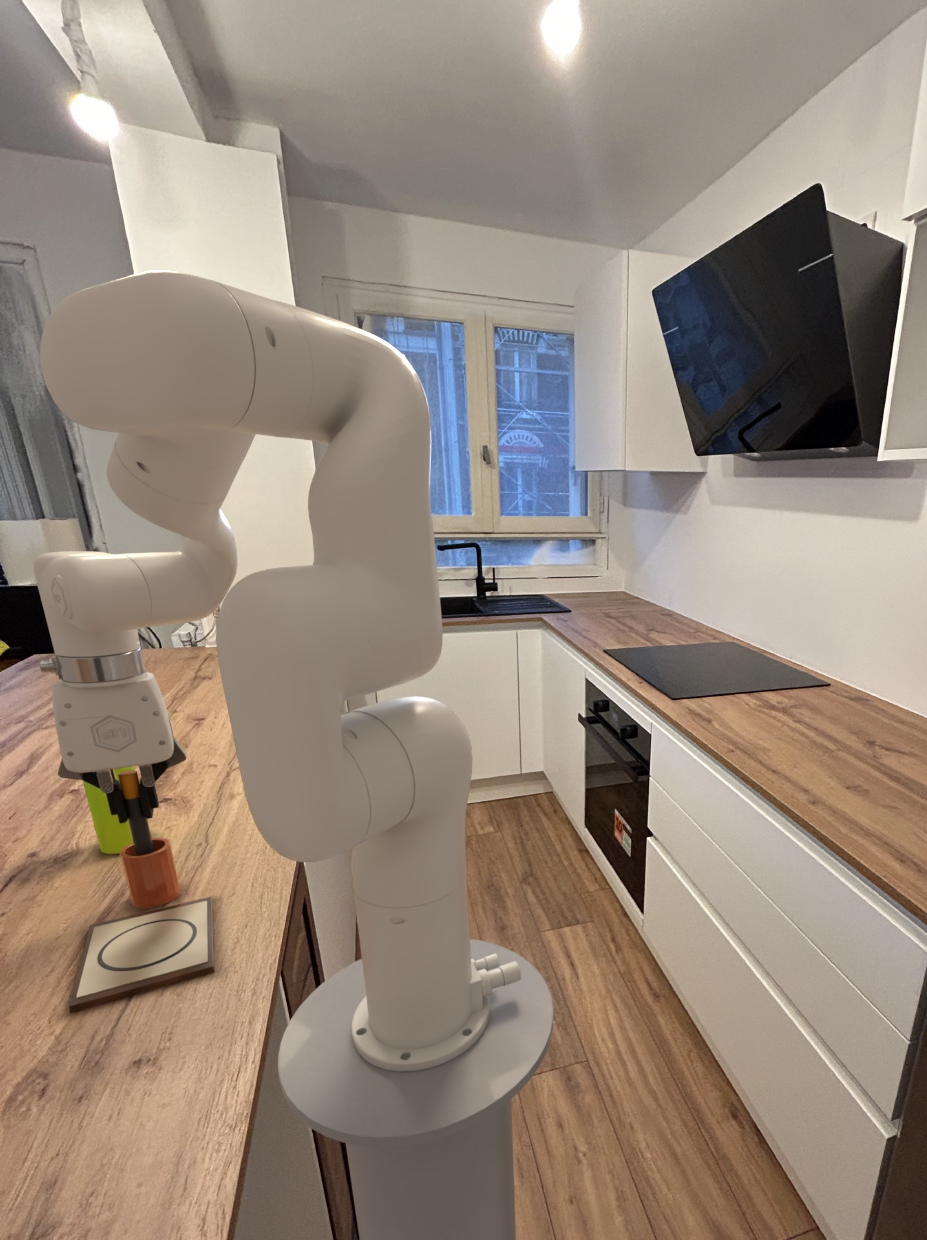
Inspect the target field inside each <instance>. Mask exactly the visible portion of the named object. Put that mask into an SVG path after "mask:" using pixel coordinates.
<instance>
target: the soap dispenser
mask: <svg viewBox="0 0 927 1240" xmlns="http://www.w3.org/2000/svg"><path fill="white" fill-rule="evenodd" d="M130 770H135V771H136V768H135V766H132V767H125V768H118V769H114V772H115V776H116V780H118V781H119V777H118V774H119V773H121V772H124V771H130ZM119 783H120V781H119ZM82 784H83V788H84V791H85V795H86V800H87V803H88V806H89V807H88V808H89V811H90V814H91V819H92V823H93V826H94V830H95V833H96V837H97V841H98V846H99V849H100V852H102V853H103V854H108V855H115V854H116V855H117V854H119V855H120V851H121V850H122V849H123V848H124V847H126V846H128V845H130V844H132V843H133V838H132V834H131V829H130V825H129V821H128V820H127V821H126V822H125V823H119V819H118V815H111V812H110V808H109V804H108V800H107V796H106V793H103V792H102V791H101V789H99V788H97V787H95V786H93V785H91V784H89V783H87V782H85V781H83V780H82Z"/></svg>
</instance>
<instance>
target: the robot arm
mask: <svg viewBox="0 0 927 1240" xmlns="http://www.w3.org/2000/svg"><path fill="white" fill-rule="evenodd" d="M39 363H40V368H41V374H42V377H43V380H44V384H45V387H46V389H47V390H48V392H49V394H50V396H51V398H52V401H53V402H54V404H56V406H57V407H58V408H59V409H60V411H61V412H62V413H63V414H64V415H65V416H67V417H68V418H69V419H70V420H71V421H73V422H75V423H77V424H78V425H80V426H81V427H84V428H88V429H90V430H93V431H98V432H99V431H101V432H107V433H109V432H110V433H117V435H116V438H115V441H114V443H113V446H112V447H113V448H112V451H111V453H110V456H109V458H108V461H107V466H106V477H107V482H108V484H109V487H110V489H111V490H112V492H113V493H114V494H115V496H116V498H117V499H119V501H120V502H121V503H122V504H123V505H124V506H125V507H127V509H129V510H130V511H132V512H133V513H134V514H135V515H137V516H139V517H140V518H142V519H143V520H146V521H147V522H149V523H151V524H152V525H153V524H154V525H155V526H158V527H160V528H162V529H164V530H166V531H167V530H168V531H170V532H172V533H175V534H177V535H180V536H182V537H185V538H184V540H183V543H182V544H181V546H180V547H179V549H178V550H176V551H155V552H152V551H151V552H130V553H129V552H128V553H126V552H125V553H109V552H103V551H91V550H89V551H88V550H69V551H68V550H67V551H64V550H63V551H52V552H45V553H41V554H40V555H37V557H36V558H35V559H34V561H33V573H34V578H35V582H36V585H37V589H38V593H39V596H40V601H41V604H42V607H43V612H44V616H45V620H46V624H47V628H48V632H49V635H50V639H51V644H52V647H53V652H54V655H53V656H52V658H48V659H45V660H39V661H38V663H39V670H40V672H41V673H42V674H45V673H46V674H47V673H50V674H55V676H56V677H57V676H58V679H59V680H58V681H56V682H55V683H53V684H52V707H53V708H52V709H53V716H54V723H55V729H56V736H57V741H58V746H59V751H60V755H61V760H60V763H59V767H58V770H57V776H58V777H59V778H63V779H68V780H76V781H82V782H83V781H85V782H87V783H89V784H91V785H93V786H95V787H97V788H99V789H101V791H102V792H103V793H106V796H107V800H108V804H109V808H110V812H111V815H118V819H119V823H125V822H126V821H127V820H128V816H127V811H126V807H125V802H124V798H123V794H122V789H121V785H120V783H119V781H118V780H116V776H115V772H114V769H118V768H125V767H132V766H134V767H138V770H139V773H140V779H139V783H140V786H139V795H140V800H141V804H142V808H143V813H144V817H145V818H147V820H149V819H153V816H154V810H155V809H159V808H160V804H159V798H158V793H157V788H156V784H155V783H156V782H157V781H158V780H159V778H161V777H162V775H163V774H164V773H165V772H166V771H167V770H168V769H169V768H173V767H175V766H177V765H178V764H181V763H183V762H185V761H186V760H187V754H188V753H187V752H186V751H185V749H184V748H183V746H182V745H181V744H180V742H179V741H178V740H177V739H176V737H175V736H174V731H173V727H172V724H171V720H170V717H169V712H168V709H167V706H166V702H165V699H164V696H163V693H162V691H161V689H160V686H159V684H158V681H157V679H156V678H155V675H154V673H152V672H148V671H146V670H147V669H146V665H145V660H144V655H143V651H142V647H141V642H140V637H139V632H138V630H139V629H144V628H152V627H161V626H168V625H177V624H186V623H193V622H198V621H200V620H203V619H205V618H208V617H210V615H212V614H213V613H214V612H215V611H216V610H217V609H218V608H219V607H220V608H219V614H218V617H217V623H216V633H215V641H216V642H215V643H216V645H215V646H216V654H217V660H218V667H219V673H220V679H221V683H222V688H223V693H224V697H225V703H226V709H227V713H228V718H229V722H230V723H229V724H230V729H231V733H232V737H233V738H232V739H233V743H234V747H235V753H236V759H237V762H238V768H239V772H240V773H239V774H240V777H241V782H242V787H243V792H244V796H245V799H246V802H247V806H248V810H249V811H250V815H251V817H252V820H253V822H254V825H255V827H256V828H257V830H258V832H259V834H260V835H261V837H262V838H263V840H264V841H265V842H266V844H267V845H269V847H270V848H271V849H273V851H275V852H276V854H278V855H280V856H281V857H283V858H286V859H287V860H290V861H293V862H297V863H317V862H320V861H325V860H328V859H332V858H333V857H336V856H338V855H340V854H343V853H345V852H347V851H349V850H351V849H352V854H351V865H350V866H351V867H350V868H351V869H350V870H351V881H352V889H353V897H354V906H355V915H356V924H357V931H358V939H359V940H358V941H359V949H360V954H361V955H360V957H361V958H362V966H363V974H364V982H365V991H366V996H365V997H364V999H363V1000H362V1001H361V1003H360V1004H359V1005H358V1007H357V1009H356V1011H355V1013H354V1015H353V1019H352V1024H351V1029H352V1038H353V1043H354V1046H355V1048H356V1050H357V1052H358V1053H359V1054H360V1055H361V1056H362V1057H363V1058H364V1059H365V1060H366V1061H367V1062H369V1063H371V1064H372V1065H374V1066H376V1067H380V1068H383V1069H386V1070H392V1071H400V1072H402V1071H418V1070H423V1069H428V1068H432V1067H435V1066H438V1065H441V1064H444V1063H446V1062H448V1061H450V1060H452V1059H454V1058H456V1057H457V1056H459V1055H460V1054H462V1053H463V1052H465V1051H466V1050H467V1049H468V1048H470V1047H471V1046H472V1045H473V1044H474V1043H475V1042H476V1041H477V1040H478V1038H479V1037H480V1036H481V1034H482V1033H483V1032H484V1030H485V1027H486V1025H487V1023H488V1020H489V1015H490V1000H489V995H490V994H491V993H492V989H494V988H497V987H500V986H506V985H509V984H511V983H514V982H517V981H520V980H521V971H520V968H519V965H518V963H517V962H516V961H514V962H511V963H508V964H505V965H502V966H499V959H498V956H497V954H496V953H495V954H492V955H490V956H487V957H484V958H483V959H480V960H477V961H474V959H471V952H470V939H471V937H470V936H471V935H470V933H471V932H470V918H469V915H470V914H469V900H468V899H469V897H468V896H469V895H468V881H467V879H468V877H467V873H468V871H467V853H466V851H467V850H466V849H467V848H466V821H467V820H466V819H467V811H468V810H467V809H468V801H469V797H470V796H469V795H470V788H471V782H472V776H473V760H474V759H473V746H472V742H471V738H470V734H469V731H468V729H467V728H466V725H465V723H464V722H463V720H462V719H461V718H460V716H459V715H458V714H457V713H456V711H454V710H453V709H452V708H451V707H450V706H448V705H447V704H445V703H444V702H442V701H439V700H437V699H435V698H430V697H426V696H419V695H418V696H417V695H412V696H400V697H395V698H390V699H387V700H383V701H380V702H376V703H373V704H369V705H366V706H362V707H359V708H355V709H352V710H349V711H346V712H344V713H342V702H346V701H349V700H353V699H356V698H360V697H363V696H367V695H370V694H373V693H377V692H380V691H384V690H387V689H391V688H394V687H398V686H401V685H403V684H406V683H409V682H412V681H415V680H417V679H419V678H421V677H424V676H425V675H427V674H428V673H429V672H431V671H432V670H433V669H434V668H435V666H436V665H437V664H438V661H439V660H440V657H441V654H442V650H443V649H442V648H443V637H444V636H443V634H444V633H443V621H442V620H443V617H442V605H441V594H440V586H439V585H440V584H439V575H438V574H439V573H438V563H437V553H436V551H437V550H436V543H435V542H436V540H435V531H434V525H433V517H432V505H431V504H432V503H431V464H432V463H431V462H432V461H431V459H432V425H431V424H432V423H431V413H430V406H429V402H428V398H427V395H426V391H425V388H424V386H423V384H422V381H421V379H420V377H419V375H418V373H417V372H416V370H415V368H414V367H413V365H412V363H411V362H410V361H409V360H408V359H407V357H405V356H404V354H403V353H401V352H400V351H399V350H398V349H397V347H395V346H393V345H392V344H391V343H389V342H388V341H386V340H384V339H383V338H381V337H379V336H377V335H375V334H373V333H371V332H369V331H366V330H364V329H362V328H359V327H357V326H354V325H352V324H349V323H347V322H344V321H341V320H338V319H336V318H333V317H330V316H327V315H325V314H321V313H318V312H315V311H313V310H309V309H305V308H303V307H300V306H297V305H293V304H290V303H288V302H287V303H286V302H283V301H278V300H275V299H272V298H269V297H265V296H262V295H259V294H256V293H253V292H250V291H247V290H244V289H240V288H238V287H235V286H232V285H228V284H225V283H222V282H220V281H216V280H212V279H209V278H206V277H201V276H198V275H194V274H190V273H186V272H182V271H176V270H167V269H166V270H165V269H158V270H157V269H155V270H148V271H143V272H138V273H133V274H131V275H127V276H125V277H121V278H118V279H114V280H110V281H107V282H104V283H100V284H97V285H93V286H89V287H86V288H83V289H81V290H78V291H76V292H73V293H72V294H69V295H68V296H66V297H65V298H64V299H63V300H61V301H60V302H59V303H58V304H57V305H56V306H55V307H54V308H53V310H52V311H51V313H50V314H49V316H48V318H47V320H46V322H45V324H44V327H43V331H42V334H41V339H40V346H39ZM256 435H258V436H259V435H260V436H268V437H275V438H284V439H285V438H287V439H295V440H304V441H311V442H312V441H313V442H319V443H324V444H326V445H327V447H326V449H325V450H324V451H323V454H322V455H321V457H320V458H319V461H318V462H317V465H316V468H315V469H314V473H313V476H312V479H311V482H310V485H309V490H308V497H307V511H308V519H309V524H310V529H311V535H312V546H313V547H312V548H313V563H312V565H296V566H292V565H291V566H281V567H272V568H266V569H262V570H259V571H256V572H255V571H254V572H253V573H250V574H248V575H246V576H244V577H243V578H241V579H240V580H238V581H237V582H236V583H235V584H234V585H233V586H232V584H233V582H234V580H235V578H236V575H237V571H238V548H237V542H236V538H235V534H234V531H233V528H232V527H231V525H230V523H229V521H228V519H227V517H226V515H225V514H224V512H223V510H222V509H221V508H222V506H223V504H224V502H225V500H226V498H227V496H228V494H229V492H230V489H231V487H232V485H233V483H234V481H235V479H236V477H237V476H238V475H237V474H238V472H239V471H240V469H241V466H242V464H243V463H244V460H245V459H246V456H247V454H248V453H249V450H250V447H251V446H252V444H253V441H254V439H255V438H256ZM220 605H221V606H220ZM497 967H498V968H497ZM494 968H497V969H494ZM491 969H494V970H491ZM488 970H491V971H488ZM487 971H488V972H487Z"/></svg>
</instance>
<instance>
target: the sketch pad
mask: <svg viewBox="0 0 927 1240" xmlns="http://www.w3.org/2000/svg"><path fill="white" fill-rule="evenodd" d="M213 900H214V899H213V897H212V896H209V897H204V898H200V899H195V900H190V901H187V902H183V903H178V904H177V903H176V904H174V905H169V906H166V907H165V906H164V907H161V908H157V909H152V910H148V911H143V912H140V913H139V912H138V913H134V914H131V915H125V916H122V917H118V918H113V919H109V920H105V921H104V920H103V921H100V922H97V923H92V924H90V925H89V928H88V933H87V936H86V940H85V943H84V947H83V951H82V955H81V957H80V958H81V959H80V962H79V967H78V970H77V973H76V976H75V981H74V985H73V987H72V988H73V989H72V992H71V995H70V1000H69V1003H68V1010H69V1013H71V1014H72V1013H76V1012H79V1011H83V1010H85V1009H89V1008H93V1007H97V1006H100V1005H103V1004H104V1005H105V1004H107V1003H111V1002H114V1001H117V1000H121V999H125V998H128V997H132V996H135V995H139V994H142V993H146V992H149V991H153V990H156V989H160V988H163V987H167V986H170V985H174V984H178V983H180V982H181V983H182V982H185V981H187V980H188V981H189V980H192V979H195V978H199V977H203V976H205V975H209V974H213V973H215V971H216V970H215V938H214V937H215V935H214V932H215V931H214V901H213Z"/></svg>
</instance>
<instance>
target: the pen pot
mask: <svg viewBox="0 0 927 1240" xmlns="http://www.w3.org/2000/svg"><path fill="white" fill-rule="evenodd" d="M151 838H152V843H153V848H154V852H153V853H150V854H147V855H142V856H136V852H135V847H134V843H132V844H130V845H128V846H126V847H124V848H123V849H122V850H121V851H120V853H119V857H120V861H121V865H122V869H123V873H124V877H125V881H126V885H127V890H128V895H129V897H130V901H131V903H132V904H131V905H132V906H133V907H134V908H137V909H151V908H153V909H154V908H157V907H160V906H164V905H166V904H169V903H170V902H172V901H174V900H175V899H177V898H178V897H179V896H180V894H181V887H180V881H179V876H178V872H177V867H176V862H175V858H174V853H173V850H172V844H171V841H170V840H169V839H167V838H164V837H151Z"/></svg>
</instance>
